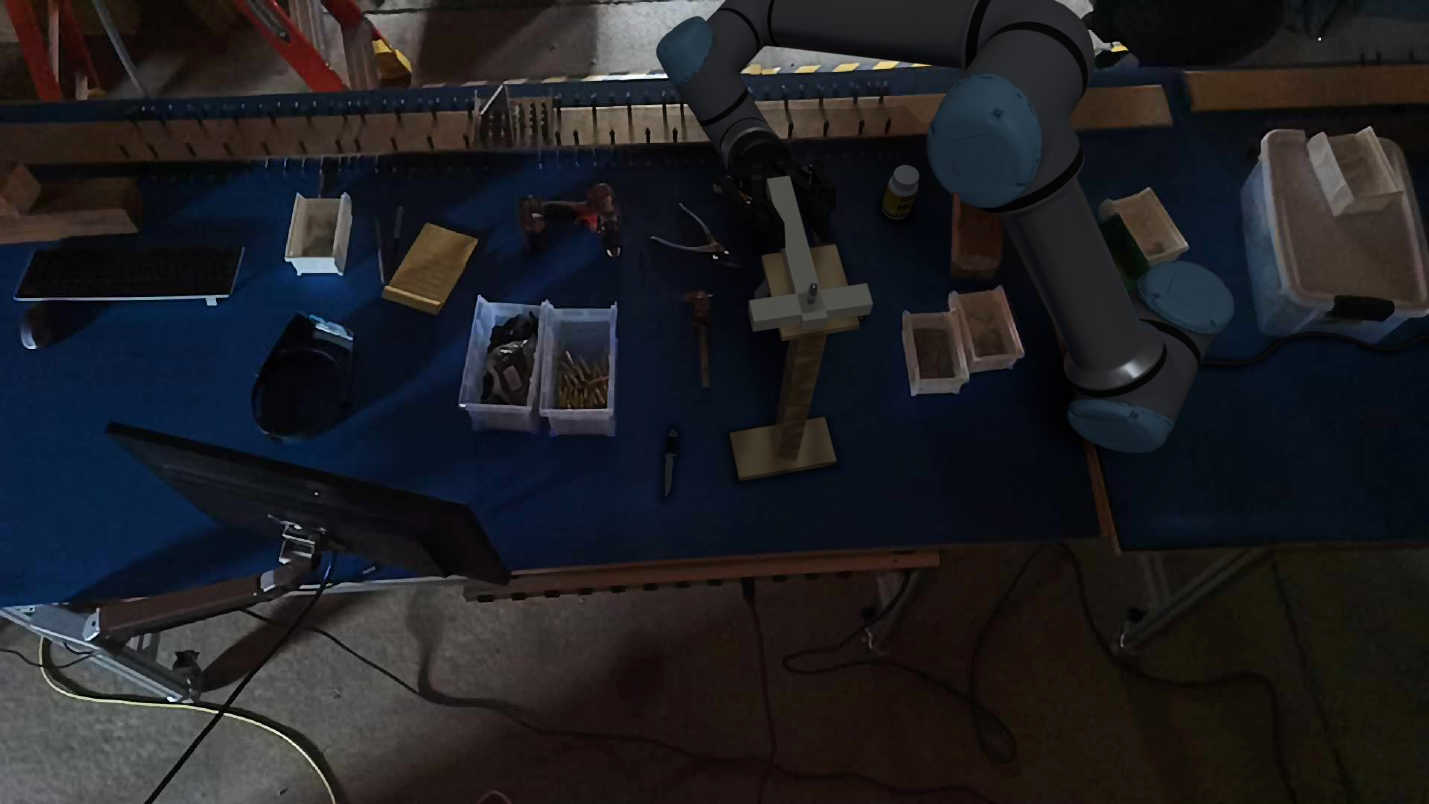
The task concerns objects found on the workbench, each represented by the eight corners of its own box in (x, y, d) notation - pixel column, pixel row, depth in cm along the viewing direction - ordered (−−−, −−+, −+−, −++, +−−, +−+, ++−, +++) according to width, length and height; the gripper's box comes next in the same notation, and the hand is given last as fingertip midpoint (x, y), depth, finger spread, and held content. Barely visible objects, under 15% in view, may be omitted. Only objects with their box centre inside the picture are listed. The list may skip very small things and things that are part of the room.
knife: (668, 497, 120) (668, 496, 120) (655, 495, 120) (655, 494, 120) (682, 432, 125) (682, 431, 124) (669, 430, 125) (669, 428, 124)
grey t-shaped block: (830, 182, 94) (836, 149, 90) (871, 321, 86) (880, 293, 82) (722, 196, 93) (723, 164, 89) (754, 338, 85) (756, 311, 81)
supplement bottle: (894, 225, 141) (905, 191, 134) (875, 206, 143) (884, 172, 135) (916, 211, 143) (927, 176, 135) (897, 193, 144) (907, 158, 137)
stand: (819, 405, 127) (863, 239, 91) (836, 468, 122) (889, 319, 86) (726, 421, 125) (733, 259, 90) (739, 484, 121) (752, 341, 85)
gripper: (823, 179, 109) (883, 254, 89) (691, 198, 107) (723, 279, 88) (823, 119, 104) (885, 184, 85) (685, 138, 103) (717, 209, 84)
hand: (803, 232), depth 87 cm, fingers open, 4 cm apart
